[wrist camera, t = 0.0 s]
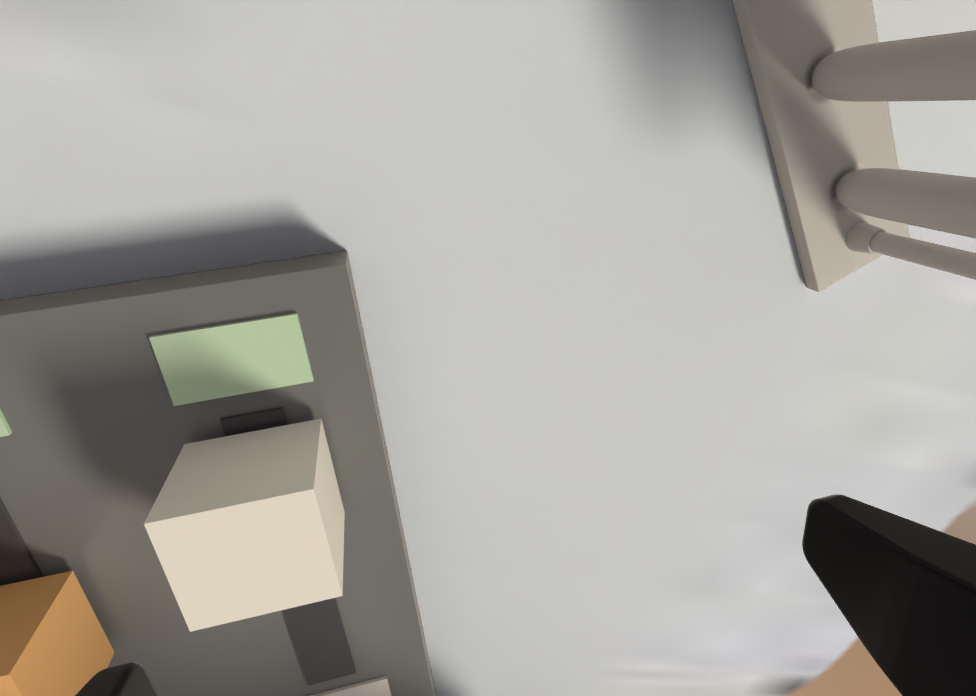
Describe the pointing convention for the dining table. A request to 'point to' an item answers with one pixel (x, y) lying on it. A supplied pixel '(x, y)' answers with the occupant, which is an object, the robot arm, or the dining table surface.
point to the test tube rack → (855, 133)
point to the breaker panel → (192, 418)
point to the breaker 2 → (250, 525)
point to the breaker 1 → (49, 638)
